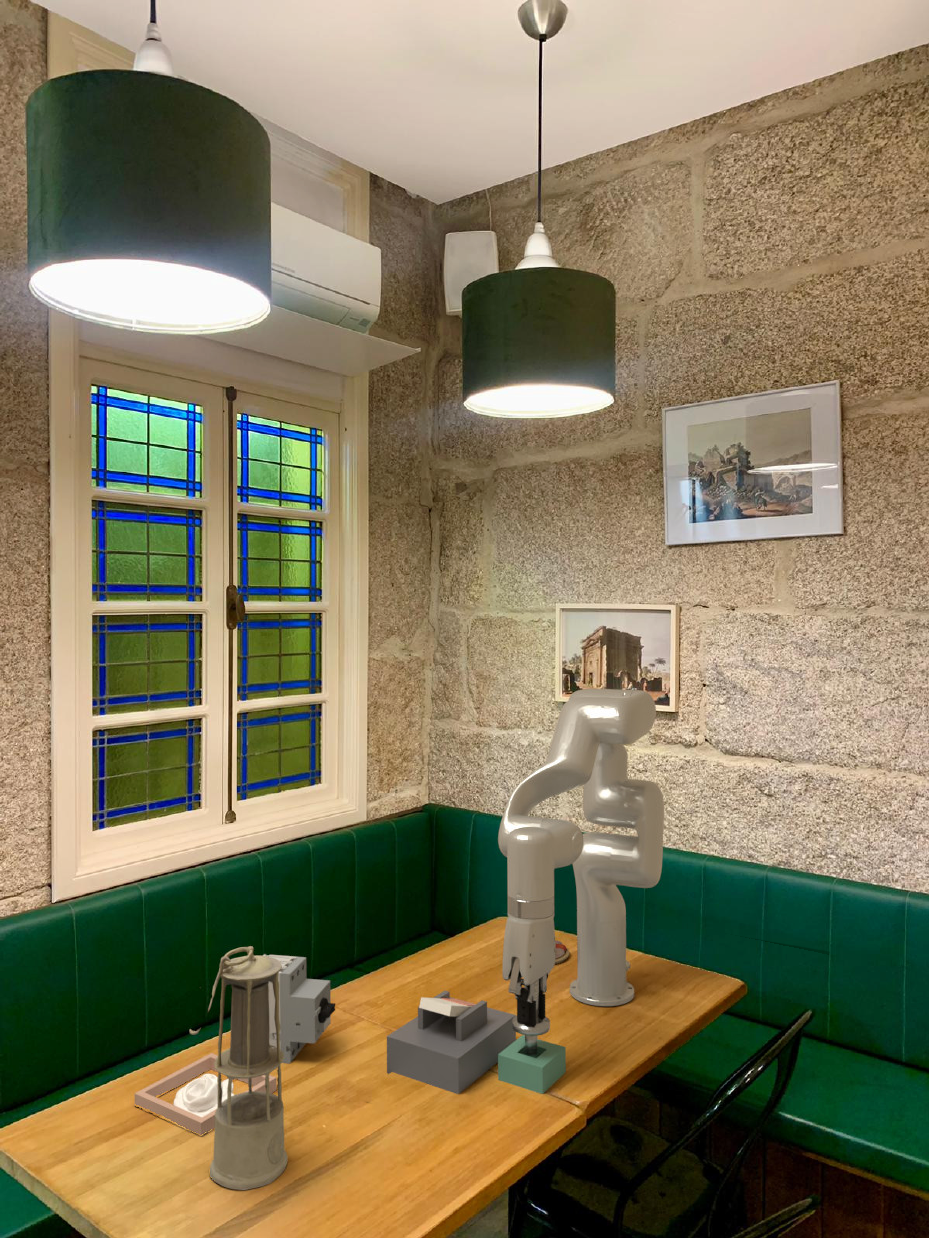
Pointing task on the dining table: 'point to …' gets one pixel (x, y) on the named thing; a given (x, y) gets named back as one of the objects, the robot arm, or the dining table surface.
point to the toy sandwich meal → (560, 952)
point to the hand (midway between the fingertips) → (531, 1019)
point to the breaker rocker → (445, 1006)
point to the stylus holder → (532, 1065)
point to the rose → (201, 1095)
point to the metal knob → (532, 1032)
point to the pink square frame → (169, 1111)
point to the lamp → (248, 1077)
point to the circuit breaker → (298, 1007)
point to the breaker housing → (450, 1045)
